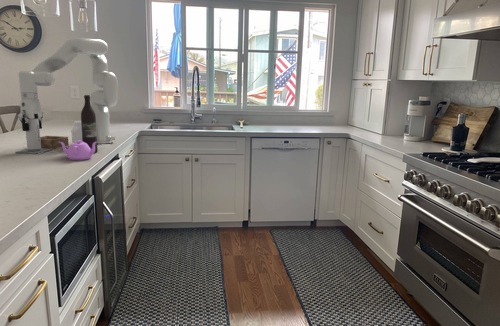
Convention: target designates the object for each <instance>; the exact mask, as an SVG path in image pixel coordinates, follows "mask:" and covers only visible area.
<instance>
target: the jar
mask: <svg viewBox="0 0 500 326" xmlns="http://www.w3.org/2000/svg"><path fill="white" fill-rule="evenodd" d="M73 125H74V126H73V127H72V129H71V131H70V132H71V141H72V142H71V144H72V143H77V142H76V141H78V140H80V141H81V142H83V141H82V126H81V120H74V121H73Z"/></svg>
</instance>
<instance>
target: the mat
mask: <svg viewBox="0 0 500 326" xmlns="http://www.w3.org/2000/svg"><path fill="white" fill-rule="evenodd" d="M53 150H54V149H45V148H41V150H40V151H28V150H27V148H26V149H21V150H17V151H15V154H26V155H39V154H43V153H47V152H50V151H53Z"/></svg>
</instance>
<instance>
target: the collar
mask: <svg viewBox="0 0 500 326" xmlns="http://www.w3.org/2000/svg"><path fill="white" fill-rule="evenodd" d="M40 140H41V148H45V149H53V150H57V149H60V148H63V147H62V144H61V143H59V142H63V143H64V144H65V147H67V146H68V147H69V136H60V135H44V136H40Z"/></svg>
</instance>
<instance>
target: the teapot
mask: <svg viewBox="0 0 500 326" xmlns="http://www.w3.org/2000/svg"><path fill="white" fill-rule="evenodd" d="M76 142H77V143H72V142H71V143H70V146H68V148H66V147H67V146H65V144H64V143H63V142H59V143H61V144H62V147H61V148H62V150H63V153H64V154H65V155H66V157H67V158H68V160H70V161H85V160H89V159H91V158H92V156H93V155H94V154H95V153H94V152H95V144H96V143H97V142H98V141H97V142H94V143H93V145H92V149H90V147H89V146H88V144H87V143H85V142H81V141H80V140H78V141H76Z"/></svg>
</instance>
